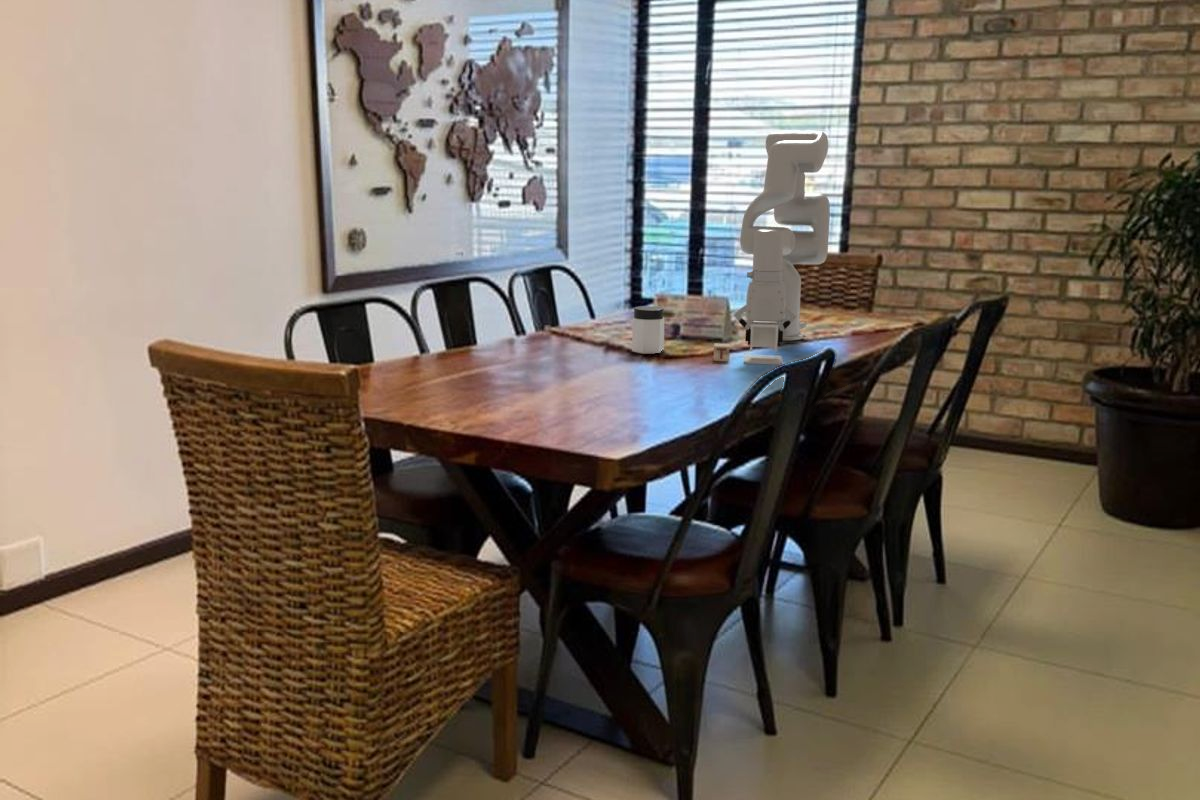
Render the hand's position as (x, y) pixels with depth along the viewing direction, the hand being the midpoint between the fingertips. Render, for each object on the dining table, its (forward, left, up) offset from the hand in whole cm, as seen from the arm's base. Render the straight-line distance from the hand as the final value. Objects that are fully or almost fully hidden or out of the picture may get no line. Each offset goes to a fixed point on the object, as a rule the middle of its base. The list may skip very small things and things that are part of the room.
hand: (763, 344), depth 271 cm
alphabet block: (0, 0, -1) cm, 1 cm away
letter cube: (+7, -9, -5) cm, 12 cm away
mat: (0, 0, -4) cm, 4 cm away
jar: (+13, -30, -5) cm, 33 cm away
